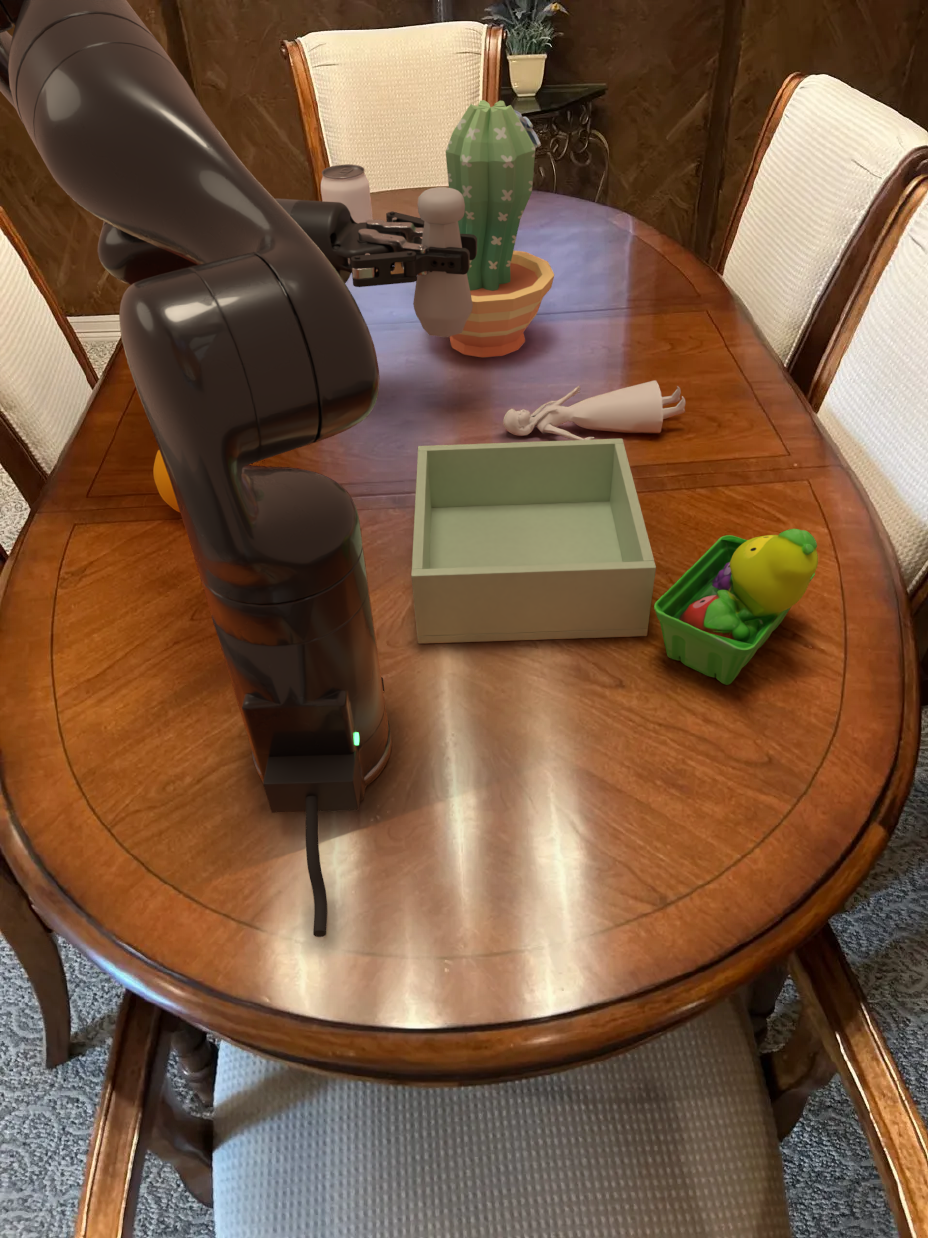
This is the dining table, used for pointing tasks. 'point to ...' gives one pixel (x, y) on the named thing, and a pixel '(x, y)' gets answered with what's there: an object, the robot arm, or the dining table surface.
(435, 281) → the salt shaker
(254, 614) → the robot arm
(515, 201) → the potted cactus
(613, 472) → the bin
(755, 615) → the fruit basket
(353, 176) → the can
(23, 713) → the dining table surface
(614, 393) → the woman figurine
